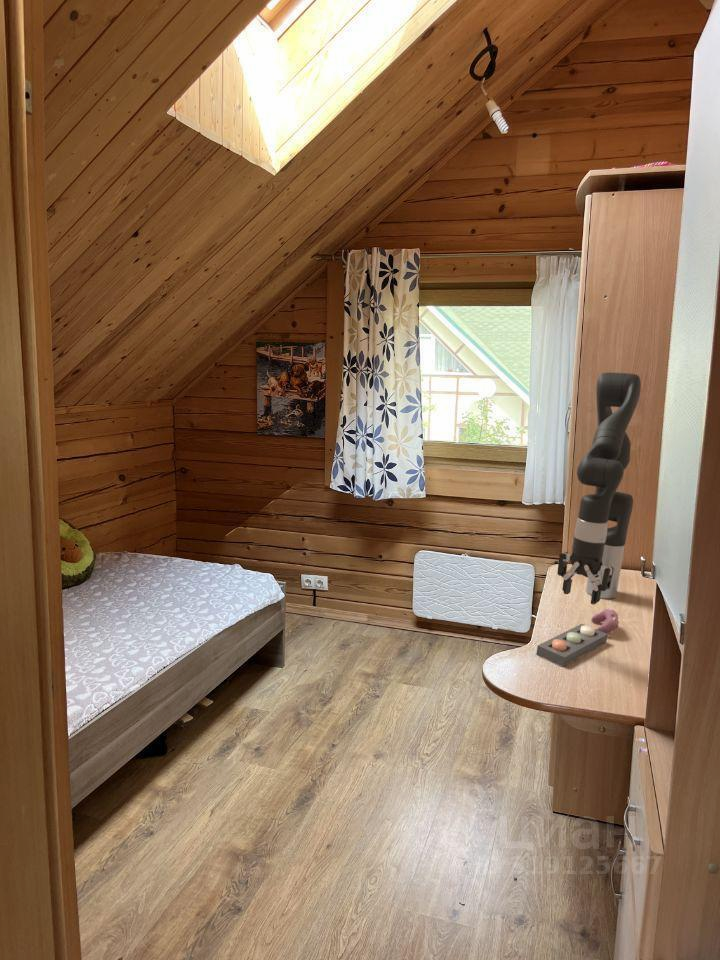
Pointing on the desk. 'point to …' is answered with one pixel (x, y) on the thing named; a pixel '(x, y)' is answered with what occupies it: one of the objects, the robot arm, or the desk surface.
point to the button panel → (571, 646)
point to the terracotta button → (559, 645)
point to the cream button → (587, 631)
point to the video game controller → (606, 620)
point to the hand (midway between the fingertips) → (580, 598)
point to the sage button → (573, 638)
